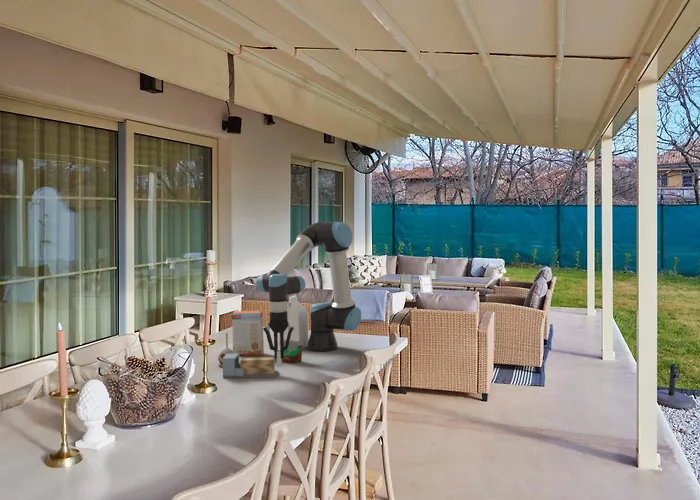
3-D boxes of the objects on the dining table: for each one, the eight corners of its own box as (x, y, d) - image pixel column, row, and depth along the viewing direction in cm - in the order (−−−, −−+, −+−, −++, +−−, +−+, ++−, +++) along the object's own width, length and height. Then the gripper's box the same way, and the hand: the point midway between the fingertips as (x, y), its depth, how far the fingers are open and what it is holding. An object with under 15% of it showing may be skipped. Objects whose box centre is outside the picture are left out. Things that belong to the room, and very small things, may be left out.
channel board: (278, 371, 265) (278, 352, 264) (274, 378, 254) (274, 359, 253) (228, 371, 266) (228, 352, 265) (222, 378, 255) (221, 359, 254)
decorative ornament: (217, 368, 272) (216, 334, 271) (220, 363, 280) (219, 331, 279) (235, 367, 273) (234, 334, 272) (237, 363, 281) (236, 331, 280)
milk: (288, 343, 321) (287, 294, 319) (308, 345, 317) (308, 295, 315) (278, 348, 310) (277, 297, 308) (299, 350, 306) (298, 298, 304)
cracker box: (264, 353, 300) (263, 310, 299) (261, 356, 294) (260, 312, 293) (236, 352, 302) (235, 310, 300) (232, 355, 296) (231, 312, 294)
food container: (274, 362, 282) (273, 340, 282) (281, 359, 288) (281, 338, 287) (296, 364, 277) (296, 343, 276) (304, 361, 282) (303, 340, 281)
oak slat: (274, 371, 262) (274, 357, 262) (274, 373, 258) (273, 359, 258) (241, 372, 261) (241, 358, 261) (240, 374, 257) (240, 360, 257)
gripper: (294, 309, 261) (295, 363, 263) (264, 309, 262) (265, 363, 263) (292, 312, 254) (293, 368, 255) (261, 312, 254) (262, 368, 256)
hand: (279, 366), depth 259 cm, fingers closed
